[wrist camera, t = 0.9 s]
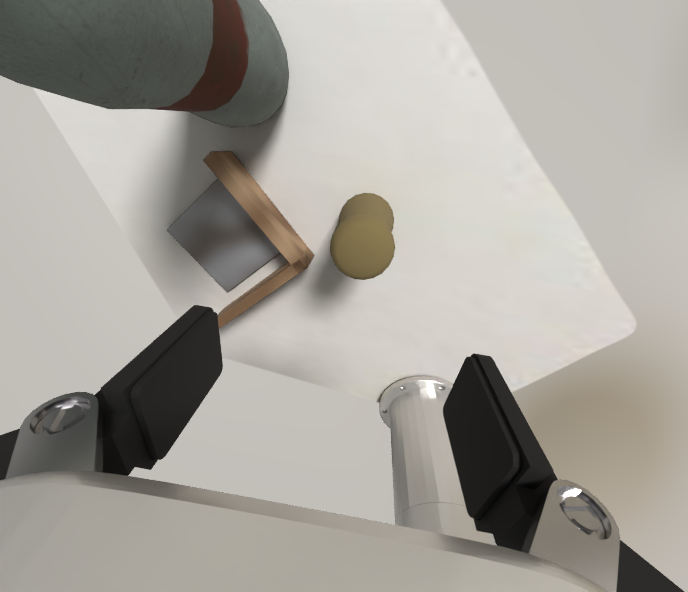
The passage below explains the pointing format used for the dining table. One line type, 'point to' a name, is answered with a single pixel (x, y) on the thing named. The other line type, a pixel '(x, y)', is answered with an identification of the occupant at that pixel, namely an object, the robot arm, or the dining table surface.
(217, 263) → the corner arena
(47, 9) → the bottle
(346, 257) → the cork
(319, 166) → the dining table surface
